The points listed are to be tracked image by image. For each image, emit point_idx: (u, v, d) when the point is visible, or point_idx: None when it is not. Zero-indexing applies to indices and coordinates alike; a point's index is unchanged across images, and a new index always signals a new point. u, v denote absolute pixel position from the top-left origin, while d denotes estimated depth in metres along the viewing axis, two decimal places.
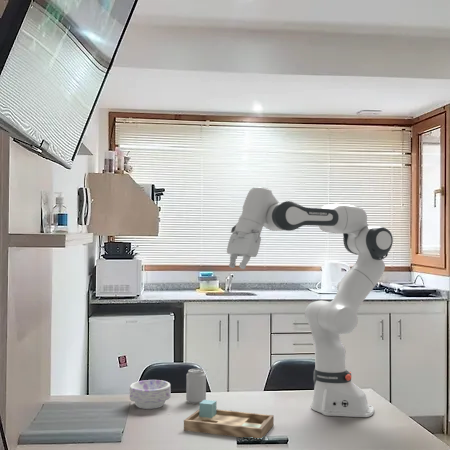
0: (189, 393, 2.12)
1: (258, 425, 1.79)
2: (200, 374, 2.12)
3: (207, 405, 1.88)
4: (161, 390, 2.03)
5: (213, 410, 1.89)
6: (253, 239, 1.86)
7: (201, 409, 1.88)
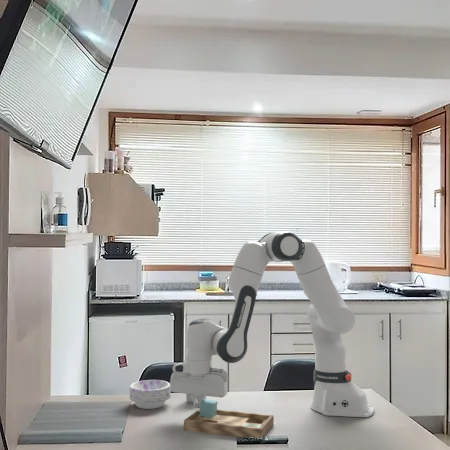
0: None
1: (258, 425, 1.79)
2: None
3: (208, 405, 1.88)
4: (161, 390, 2.03)
5: (214, 410, 1.89)
6: (223, 381, 1.87)
7: (201, 409, 1.88)
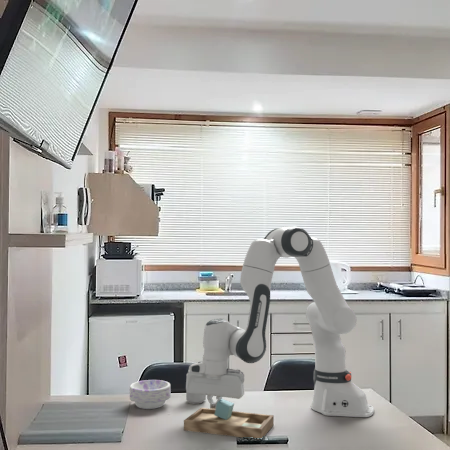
0: (189, 393, 2.12)
1: (258, 425, 1.79)
2: None
3: (225, 406, 1.85)
4: (161, 390, 2.03)
5: (229, 412, 1.86)
6: (240, 382, 1.85)
7: (217, 409, 1.86)
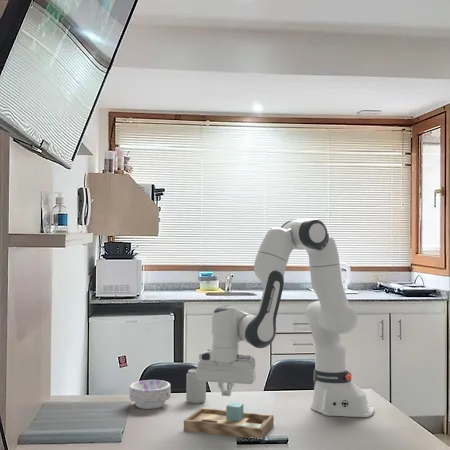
0: (189, 393, 2.12)
1: (258, 425, 1.79)
2: None
3: (234, 408, 1.84)
4: (161, 390, 2.03)
5: (240, 413, 1.85)
6: (251, 367, 1.84)
7: (228, 413, 1.85)
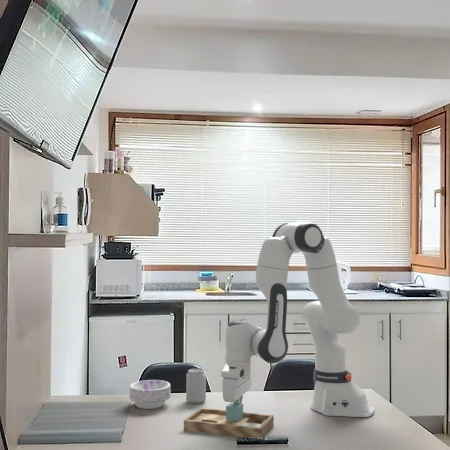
0: (189, 393, 2.12)
1: (258, 425, 1.79)
2: (200, 374, 2.12)
3: (234, 408, 1.84)
4: (161, 390, 2.03)
5: (240, 413, 1.85)
6: None
7: (227, 413, 1.85)
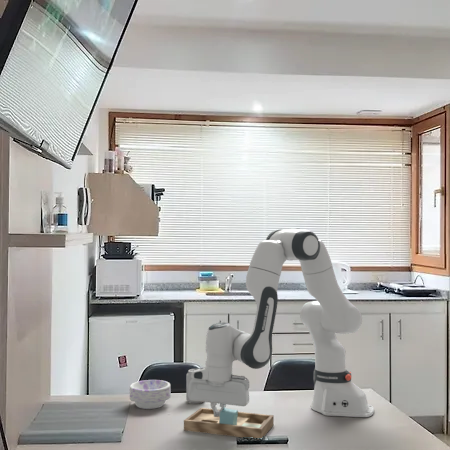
0: None
1: (258, 425, 1.79)
2: None
3: (228, 415, 1.77)
4: (161, 390, 2.03)
5: (234, 420, 1.78)
6: (245, 388, 1.77)
7: (221, 419, 1.78)
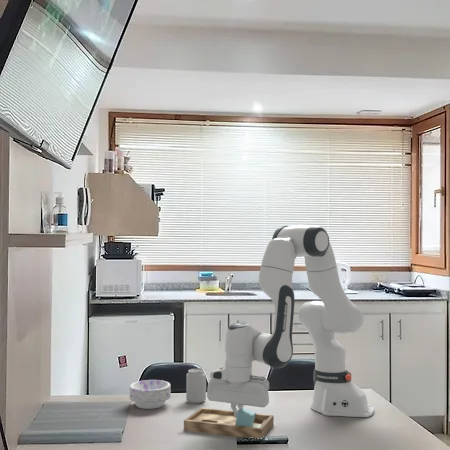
0: (189, 393, 2.12)
1: (258, 425, 1.79)
2: (200, 374, 2.12)
3: (246, 416, 1.75)
4: (161, 390, 2.03)
5: (251, 422, 1.76)
6: (265, 389, 1.75)
7: (238, 419, 1.76)
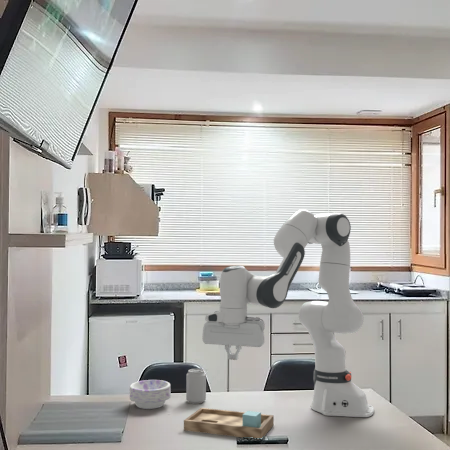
0: (189, 393, 2.12)
1: None
2: (200, 374, 2.12)
3: (251, 417, 1.75)
4: (161, 390, 2.03)
5: (257, 422, 1.76)
6: (260, 329, 1.76)
7: (244, 421, 1.76)
